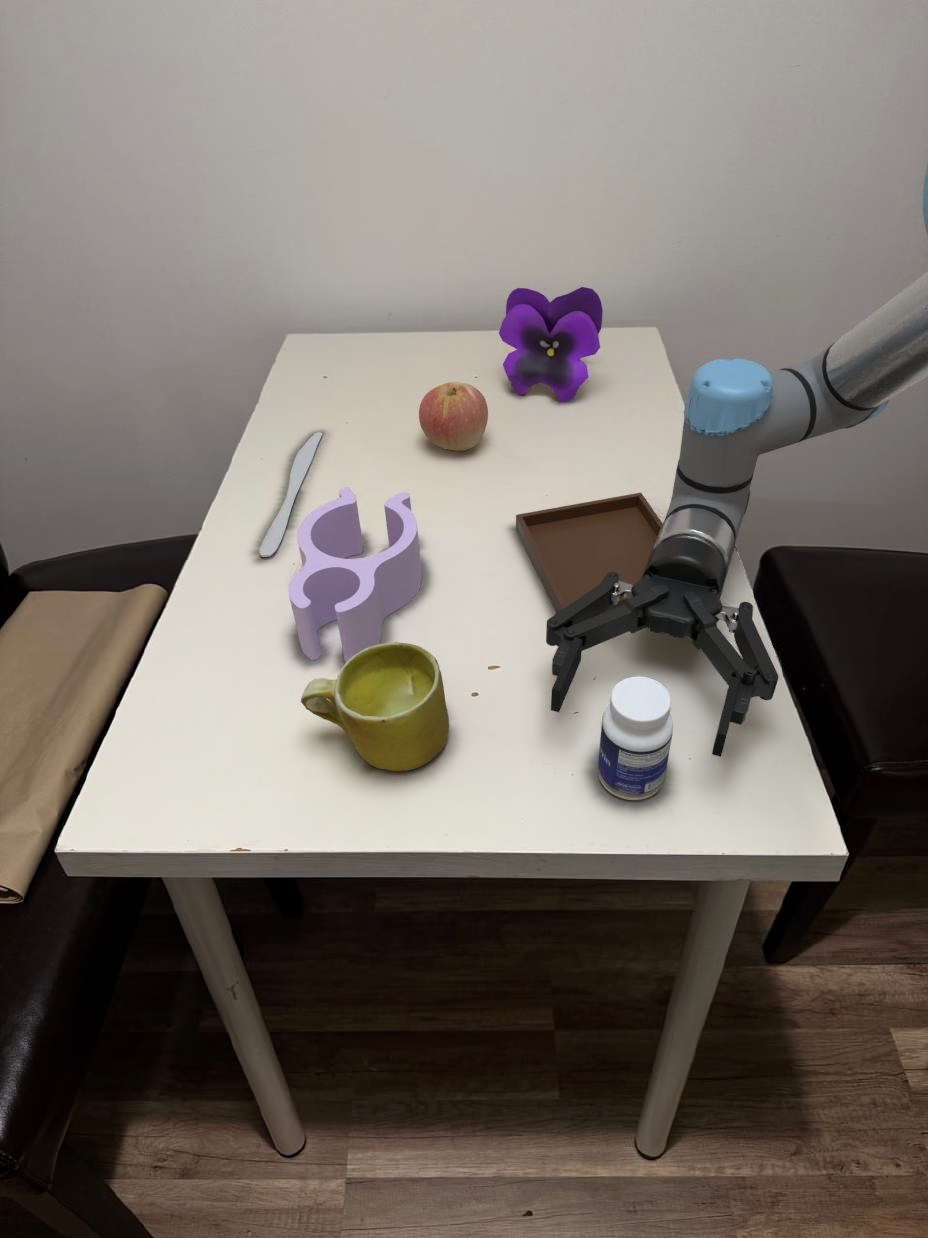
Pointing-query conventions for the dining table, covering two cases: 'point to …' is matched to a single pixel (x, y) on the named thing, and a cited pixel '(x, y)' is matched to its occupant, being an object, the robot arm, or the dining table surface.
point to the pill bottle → (635, 738)
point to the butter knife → (289, 496)
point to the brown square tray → (589, 544)
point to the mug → (386, 705)
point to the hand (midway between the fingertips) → (634, 722)
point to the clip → (352, 573)
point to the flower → (551, 339)
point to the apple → (453, 416)
